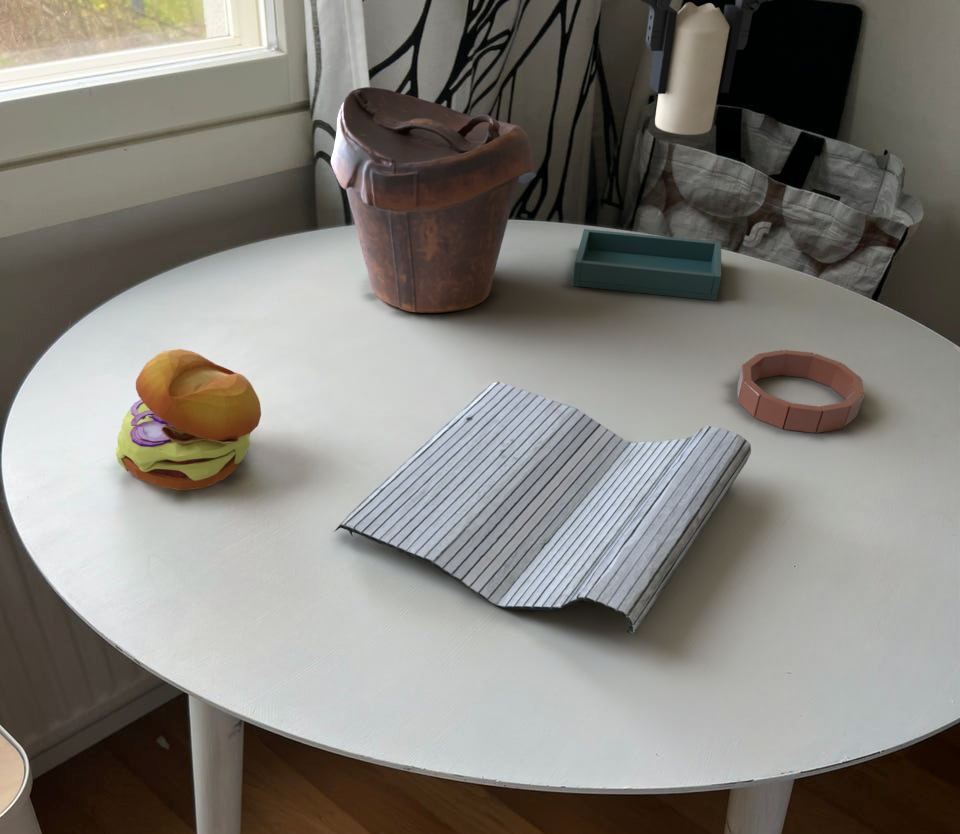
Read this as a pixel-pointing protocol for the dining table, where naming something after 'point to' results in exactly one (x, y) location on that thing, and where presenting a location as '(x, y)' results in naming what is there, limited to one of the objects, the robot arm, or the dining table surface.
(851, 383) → the faceted band ring
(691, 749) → the dining table surface
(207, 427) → the cheeseburger
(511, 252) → the dining table surface
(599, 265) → the tray
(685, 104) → the candle
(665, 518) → the mat
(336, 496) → the dining table surface
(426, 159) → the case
